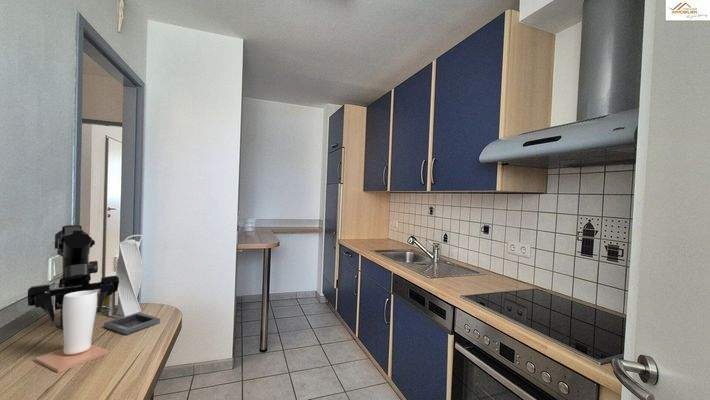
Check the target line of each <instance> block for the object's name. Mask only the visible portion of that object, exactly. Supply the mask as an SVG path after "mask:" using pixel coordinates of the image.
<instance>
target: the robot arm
mask: <svg viewBox="0 0 710 400" xmlns="http://www.w3.org/2000/svg"><path fill="white" fill-rule="evenodd" d="M95 243H96V241H95V240H94V239H93V237H92V236H89V234H88V233H87V232H85V230H83V229H82V225H79V224H70V225H68V224H67V225H66V224H65V225H62V226H61V229H60V230H59V231H58V232H57V233H55V234H54V250H56V252H57V256H60V257H62V261H61V262H62V277H60V279H59V282H58V284H57V285H58V286H57V287H54V288H50V283H49V284H42V285H33V286H30V287H29V288H28V289H27V305H28V306H29V307H33V306H34V307H35V308H41V309H42V310H43V312H45V313H46V314H47V316H48V318H49V319H50V321H51V322H52V323H54V322H55V311H57V310H60V314H59V318H60V319H59V320H60V321H59V322H58V323H55V324H54V327H56V328H59V329H61V330H63V317H62V307H63V298H64V295H66V294H68V293H73V292H78V291H89V290H93V291H98V290H99V289H100V296H99V304H98V311H97V313H98V314H100V313H101V309H102V306H103V304H104V301H105V300H106V298H107V296H109V295H112V293H114V292H115V293H116V292H118V291H117V289H118V285H119V277H117V276H116V274H115V275H109V276H102V277H101V279H100V282H98V281H97V282H93V283H90V281H91V279H92V278H91V274H96V273H98V271H99V266H98V260H90V261H89V254H90V251H91V250H90V249H91V248H93V246H94V245H96V244H95ZM52 297H54V305H53V300H52V299H53V298H52Z"/></svg>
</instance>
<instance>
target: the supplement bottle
mask: <svg viewBox="0 0 710 400" xmlns="http://www.w3.org/2000/svg"><path fill="white" fill-rule="evenodd" d="M96 291H97V306H98V304H99V296H100V289H97V290H96ZM109 305H110V295H109V296H107V298H106V300H105V301H104V304H103V306H106V307H102V309H101V312H109V308H107V307H109ZM96 312H98V307H97V309H96ZM101 312H100V313H101Z"/></svg>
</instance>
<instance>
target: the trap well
mask: <svg viewBox="0 0 710 400" xmlns="http://www.w3.org/2000/svg"><path fill="white" fill-rule="evenodd" d="M159 324H161V318H159V317H157V316H154V315H148V314H145V313H142V312H141V313H139V312H137V313H134V314H131V315H128V316H125V317H121V318H118V319H116V318H114V319H113V320H109V321H106V322H104V323H103V328H104V329H107V330H109V331H111V332H115V333H118V334H121V335H124V336H129V335H132V334H134V333H137V332H140V331H143V330H145V329H149V328H151V327H154V326H156V325H159Z"/></svg>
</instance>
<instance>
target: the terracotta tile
mask: <svg viewBox="0 0 710 400" xmlns="http://www.w3.org/2000/svg"><path fill="white" fill-rule="evenodd" d="M63 350H64V347H63V348H60V349H57V350H54V351H51V352H48V353H45V354H42V355H39V356H36V357H35V358H34V361H35V362H36V363H39V364H41V365H43V366H45V367H46V368H48V369H51V370H52V371H54V372H55V373H59V374H60V373H62V372H64V371H67V370H70V369H72V368H74V367H76V366H80V365H82V364H85V363H87V362H90V361H92V360H94V359H97V358H100V357H102V356H104V355H108V354H109V350H108V349H105V348H103V347H100V346H97V345H95V344H92V343H91V347H90V348H89V349H88V350H87V351H84V352H82V353H78V354H73V355H67V354H64V352H63Z"/></svg>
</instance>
